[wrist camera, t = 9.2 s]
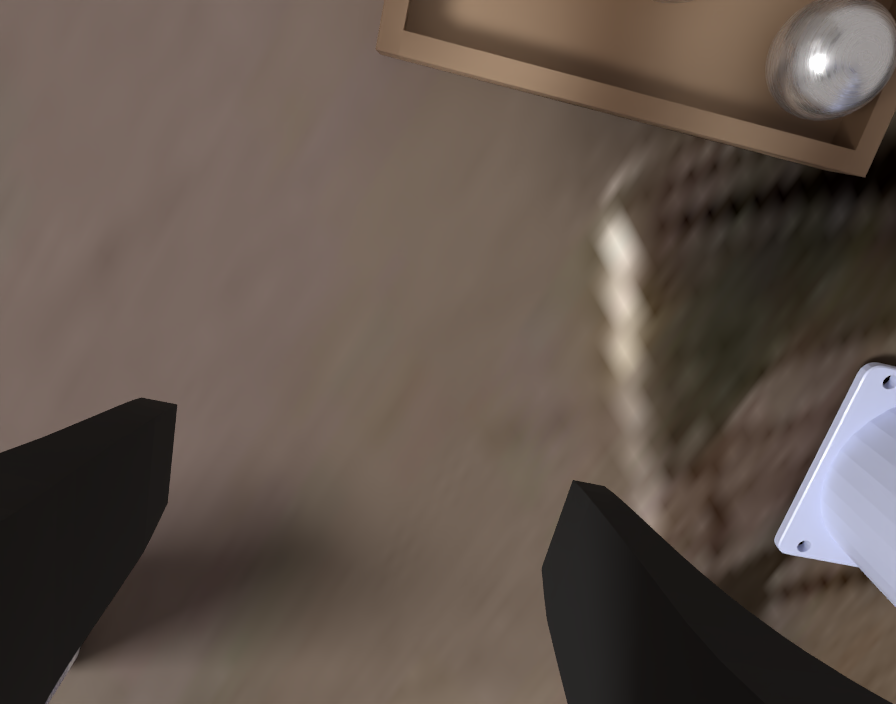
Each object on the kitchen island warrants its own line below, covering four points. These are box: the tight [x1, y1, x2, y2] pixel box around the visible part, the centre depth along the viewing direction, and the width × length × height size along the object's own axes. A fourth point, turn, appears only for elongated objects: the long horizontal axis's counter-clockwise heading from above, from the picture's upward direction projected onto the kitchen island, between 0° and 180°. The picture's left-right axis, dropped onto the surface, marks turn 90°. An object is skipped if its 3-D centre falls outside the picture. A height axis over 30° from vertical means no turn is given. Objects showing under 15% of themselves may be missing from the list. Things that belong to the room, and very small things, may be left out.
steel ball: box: [765, 0, 896, 121], centre depth 17 cm, size 3×3×3 cm
